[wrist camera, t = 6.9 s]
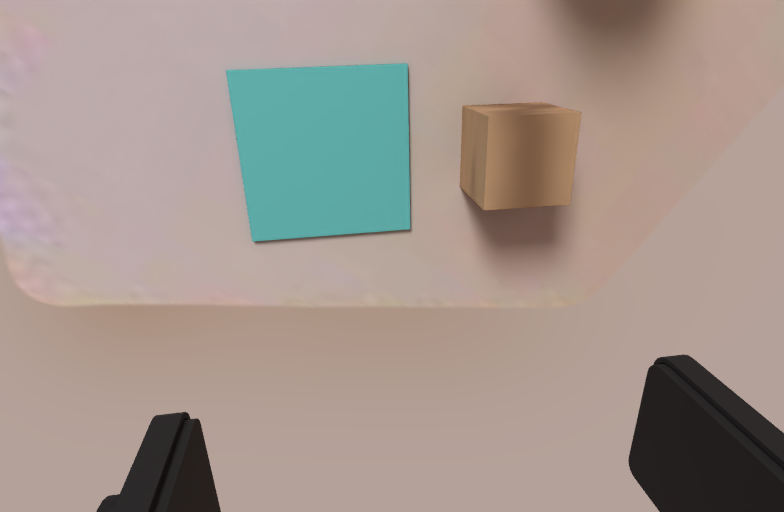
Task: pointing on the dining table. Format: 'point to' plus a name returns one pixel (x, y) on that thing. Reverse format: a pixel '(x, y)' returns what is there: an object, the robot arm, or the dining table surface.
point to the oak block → (518, 154)
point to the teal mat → (323, 149)
